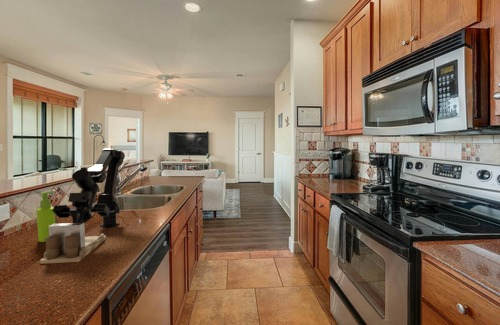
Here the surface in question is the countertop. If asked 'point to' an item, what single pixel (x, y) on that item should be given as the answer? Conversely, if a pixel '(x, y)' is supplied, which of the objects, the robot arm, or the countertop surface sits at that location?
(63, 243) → the white square slab
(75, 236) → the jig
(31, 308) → the countertop surface
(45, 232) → the soap dispenser
